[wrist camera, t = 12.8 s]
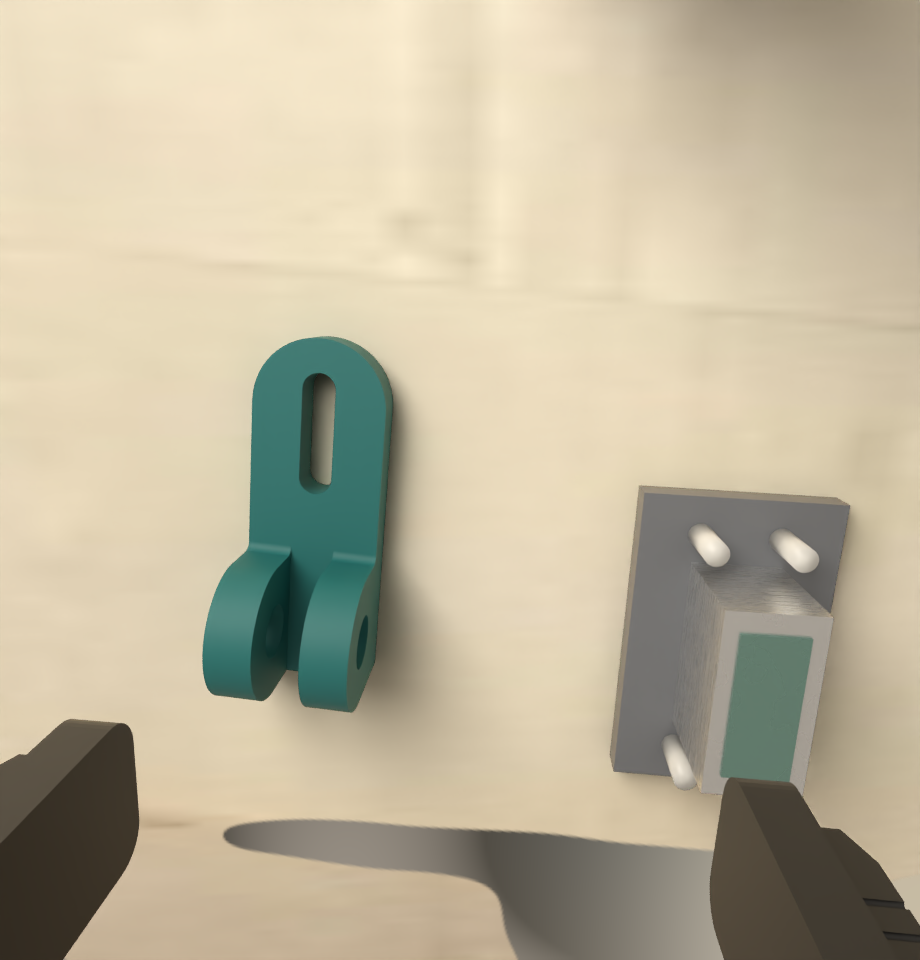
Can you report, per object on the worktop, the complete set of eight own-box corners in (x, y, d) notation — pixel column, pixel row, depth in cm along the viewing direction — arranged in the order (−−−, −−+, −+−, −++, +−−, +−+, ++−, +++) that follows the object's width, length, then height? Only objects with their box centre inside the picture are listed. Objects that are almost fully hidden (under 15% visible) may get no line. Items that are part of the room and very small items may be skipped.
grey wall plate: (639, 485, 37) (656, 509, 32) (836, 497, 36) (881, 523, 32) (609, 754, 40) (621, 808, 36) (788, 770, 40) (821, 826, 35)
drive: (691, 562, 36) (726, 612, 30) (781, 567, 36) (835, 619, 30) (672, 719, 38) (701, 795, 32) (757, 725, 38) (803, 803, 32)
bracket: (375, 660, 40) (343, 740, 33) (260, 645, 41) (202, 722, 33) (397, 342, 36) (366, 351, 28) (269, 330, 36) (204, 335, 29)
